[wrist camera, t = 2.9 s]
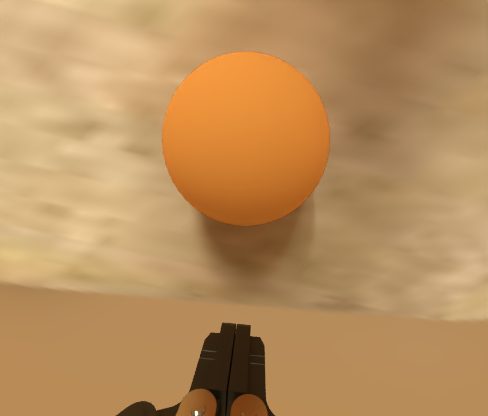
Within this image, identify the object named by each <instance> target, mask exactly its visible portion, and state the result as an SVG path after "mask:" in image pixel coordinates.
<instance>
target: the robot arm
mask: <svg viewBox="0 0 488 416" xmlns="http://www.w3.org/2000/svg"><path fill="white" fill-rule="evenodd" d="M250 327H251V326H250V325H244V324H237V328H236V324H232V323H222V326H221V331H220V333H210V335H209V336H208V337H207V338H206V339H205V341H204V345H203V348H202V351H201V354H200V359H199V361H198V364H197V368H196V371H195V375H194V378H193V382H192V385H191V388H190V391H189V393H188V394H187V395H186V396H185V397H184V398H183V400H182V401H181V402H180V403H178V404H177V405H175V406H173V407H169V408H165V409H162V410H157V411H156V409H155V407H154V406H153V405H152V404H151V403H149V402H146V401H141V402H137V403H134V404H132V405H130V406H129V407H127V408H126V409H124V410H123V411H122V412H120V413H119V414H118V415H116V416H275V415H274V414H273V413H272V412H271V411H270V409H269V407H268V405H267V402H266V392H265V391H266V390H265V351H264V344H263V342H262V340H261V338H260V337H252V336H250Z"/></svg>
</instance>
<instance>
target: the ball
mask: <svg viewBox="0 0 488 416" xmlns="http://www.w3.org/2000/svg"><path fill="white" fill-rule="evenodd" d="M162 145H163V154H164V159H165V163H166V166H167V169H168V172H169V175H170V177H171V179H172V181H173V183H174V184H175V186H176V187H177V189H178V191H179V192H180V193H181V194H182V196H183V197H184V198H185V199H186V200H187V201H188V202H189V203H190V204H191V205H192V206H193V207H194V208H196V209H197V210H199V211H200V212H201V213H203V214H205V215H207V216H208V217H210V218H212V219H215V220H217V221H220V222H223V223H227V224H232V225H239V226H253V225H261V224H265V223H269V222H272V221H275V220H277V219H280V218H282V217H284V216H285V215H287V214H289V213H290V212H292V211H293V210H295V209H296V208H297V207H299V206H300V205H301V204H302V203H303V202H304V201H305V200H306V199H307V198H308V197H309V195H310V194H311V193H312V192H313V190H314V189H315V187H316V186H317V184H318V182H319V180H320V178H321V176H322V174H323V172H324V169H325V166H326V163H327V159H328V154H329V145H330V133H329V124H328V119H327V115H326V112H325V109H324V106H323V103H322V101H321V99H320V97H319V95H318V93H317V92H316V90H315V89H314V87H313V86H312V84H311V83H310V82H309V81H308V80H307V79H306V78H305V77H304V75H302V74H301V73H300V72H299V71H298V70H296V69H295V68H294V67H292V66H291V65H289V64H288V63H286V62H284V61H283V60H280V59H278V58H276V57H273V56H270V55H266V54H262V53H256V52H235V53H230V54H225V55H222V56H219V57H216V58H214V59H212V60H210V61H208V62H206V63H204V64H202V65H201V66H200V67H198V68H197V69H195V70H194V71H193V72H192V73H191V74H190V75H189V76H188V77H187V78H186V79H185V80H184V81H183V82H182V84H181V85H180V86H179V87H178V89H177V90H176V92H175V94H174V95H173V97H172V99H171V101H170V104H169V106H168V108H167V112H166V115H165V119H164V124H163V132H162Z"/></svg>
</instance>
